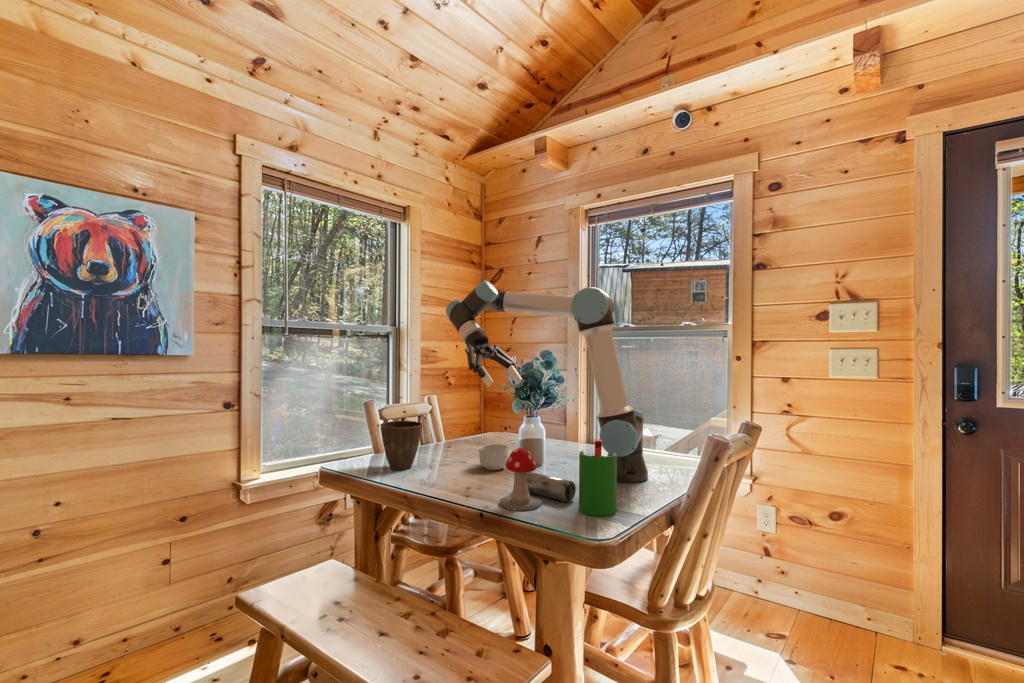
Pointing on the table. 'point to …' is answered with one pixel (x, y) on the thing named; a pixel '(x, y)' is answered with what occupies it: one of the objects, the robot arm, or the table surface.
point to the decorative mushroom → (520, 474)
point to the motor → (597, 483)
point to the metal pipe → (551, 487)
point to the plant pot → (401, 442)
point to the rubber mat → (532, 504)
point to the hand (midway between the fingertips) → (505, 383)
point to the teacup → (493, 456)
